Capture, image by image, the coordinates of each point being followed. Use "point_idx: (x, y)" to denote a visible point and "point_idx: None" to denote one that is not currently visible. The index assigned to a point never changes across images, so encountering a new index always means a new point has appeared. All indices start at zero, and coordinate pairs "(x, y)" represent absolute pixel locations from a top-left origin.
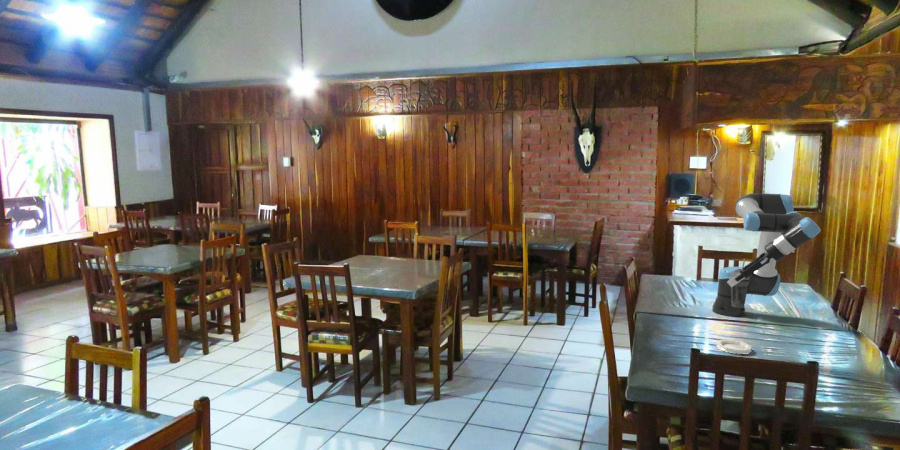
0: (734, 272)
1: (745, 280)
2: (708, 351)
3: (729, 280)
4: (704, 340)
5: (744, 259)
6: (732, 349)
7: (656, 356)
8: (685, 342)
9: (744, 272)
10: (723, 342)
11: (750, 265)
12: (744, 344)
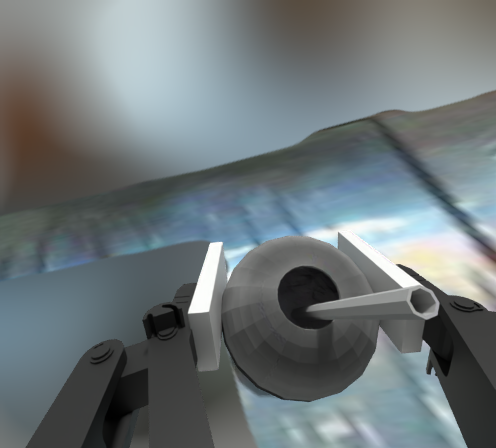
0: (256, 253)
1: (237, 367)
2: None
3: (207, 252)
4: None
5: (400, 305)
6: None
7: (130, 211)
8: (246, 232)
9: (78, 377)
10: None
11: (493, 417)
12: None
